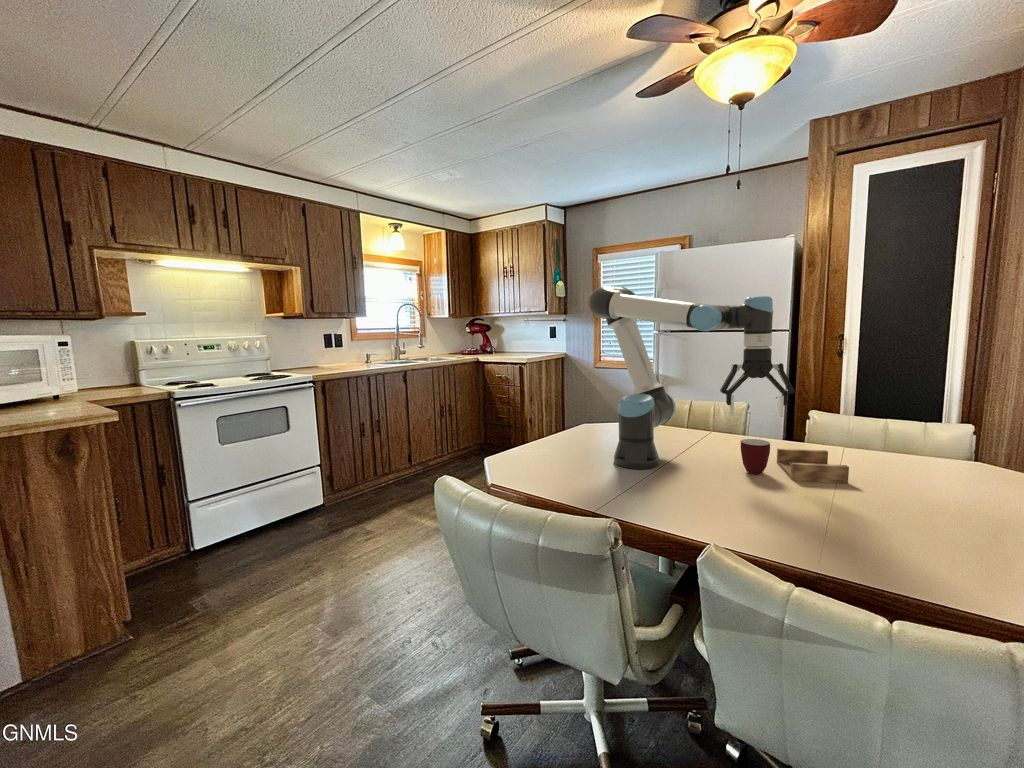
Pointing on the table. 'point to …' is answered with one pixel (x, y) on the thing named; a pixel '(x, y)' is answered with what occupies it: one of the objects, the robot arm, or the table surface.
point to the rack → (811, 466)
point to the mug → (755, 455)
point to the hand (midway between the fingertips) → (755, 415)
